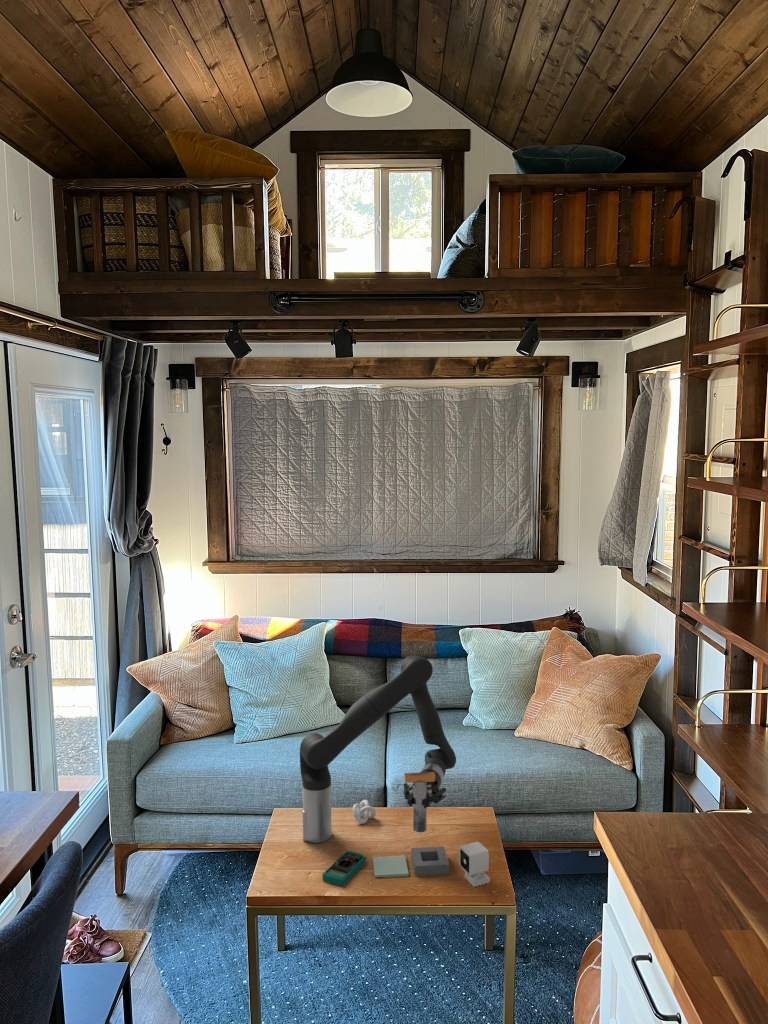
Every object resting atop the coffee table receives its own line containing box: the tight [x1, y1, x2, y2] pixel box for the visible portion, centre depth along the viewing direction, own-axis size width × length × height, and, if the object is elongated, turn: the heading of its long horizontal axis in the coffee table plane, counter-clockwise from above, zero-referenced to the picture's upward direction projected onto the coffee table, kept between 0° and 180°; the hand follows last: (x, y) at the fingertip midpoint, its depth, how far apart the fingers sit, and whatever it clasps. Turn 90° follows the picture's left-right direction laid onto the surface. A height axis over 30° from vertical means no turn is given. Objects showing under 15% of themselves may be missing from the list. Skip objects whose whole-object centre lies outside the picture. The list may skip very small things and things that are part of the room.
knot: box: [352, 799, 377, 825], centre depth 254 cm, size 8×8×6 cm
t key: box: [403, 772, 435, 833], centre depth 224 cm, size 9×4×17 cm, turn 94°
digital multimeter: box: [321, 850, 367, 887], centre depth 224 cm, size 7×15×3 cm, turn 153°
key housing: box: [410, 846, 450, 877], centre depth 226 cm, size 10×10×3 cm
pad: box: [372, 855, 410, 879], centre depth 225 cm, size 10×10×1 cm
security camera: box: [458, 841, 491, 888], centre depth 218 cm, size 6×7×10 cm
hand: (417, 804), depth 221 cm, fingers closed on t key, 4 cm apart
